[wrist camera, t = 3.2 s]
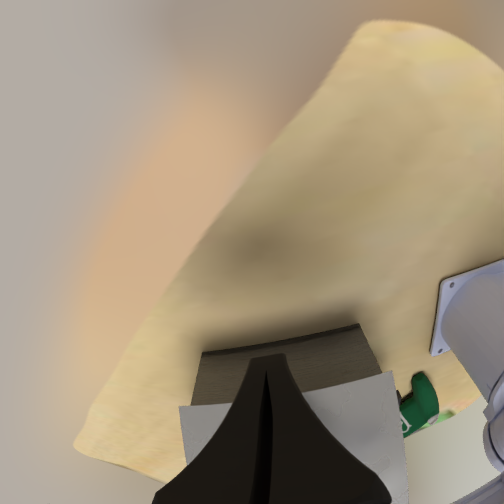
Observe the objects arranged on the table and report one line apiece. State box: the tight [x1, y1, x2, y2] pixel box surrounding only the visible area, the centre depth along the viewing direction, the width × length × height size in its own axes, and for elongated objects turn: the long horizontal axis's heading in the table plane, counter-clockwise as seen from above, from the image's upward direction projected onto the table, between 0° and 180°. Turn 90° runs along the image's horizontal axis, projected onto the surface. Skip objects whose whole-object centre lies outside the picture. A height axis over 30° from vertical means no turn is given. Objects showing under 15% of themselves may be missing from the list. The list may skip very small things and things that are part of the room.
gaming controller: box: [399, 373, 439, 438], centre depth 23 cm, size 9×4×6 cm
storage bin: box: [191, 324, 402, 406], centre depth 20 cm, size 16×12×6 cm
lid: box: [179, 371, 409, 504], centre depth 12 cm, size 13×13×1 cm
